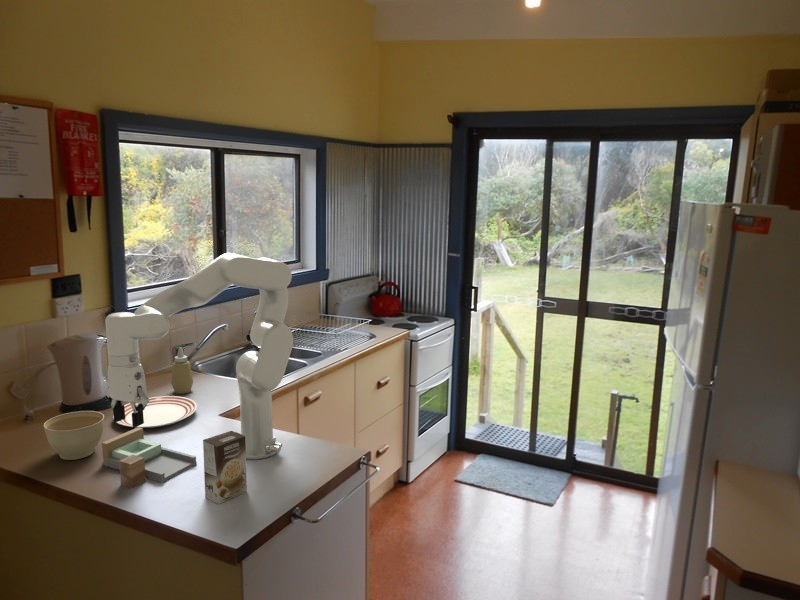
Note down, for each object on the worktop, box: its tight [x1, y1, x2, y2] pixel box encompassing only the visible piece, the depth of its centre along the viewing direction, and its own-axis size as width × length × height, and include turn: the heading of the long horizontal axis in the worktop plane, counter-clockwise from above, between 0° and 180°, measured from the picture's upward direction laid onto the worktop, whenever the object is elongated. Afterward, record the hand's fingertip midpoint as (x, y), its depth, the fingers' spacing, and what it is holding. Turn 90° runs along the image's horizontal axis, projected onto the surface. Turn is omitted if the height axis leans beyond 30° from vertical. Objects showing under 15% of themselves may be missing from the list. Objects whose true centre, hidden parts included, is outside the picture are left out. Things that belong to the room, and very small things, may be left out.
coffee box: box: [202, 430, 248, 505], centre depth 162 cm, size 9×6×16 cm
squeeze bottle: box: [170, 347, 194, 395], centre depth 241 cm, size 8×8×18 cm
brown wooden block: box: [119, 455, 147, 489], centre depth 169 cm, size 4×4×7 cm
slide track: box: [101, 427, 197, 484], centre depth 180 cm, size 24×13×7 cm, turn 64°
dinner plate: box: [112, 395, 198, 429], centre depth 216 cm, size 28×27×3 cm
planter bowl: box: [43, 410, 105, 461], centre depth 186 cm, size 16×16×11 cm
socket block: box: [112, 438, 162, 462], centre depth 182 cm, size 9×10×3 cm
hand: (128, 422), depth 166 cm, fingers open, 6 cm apart
